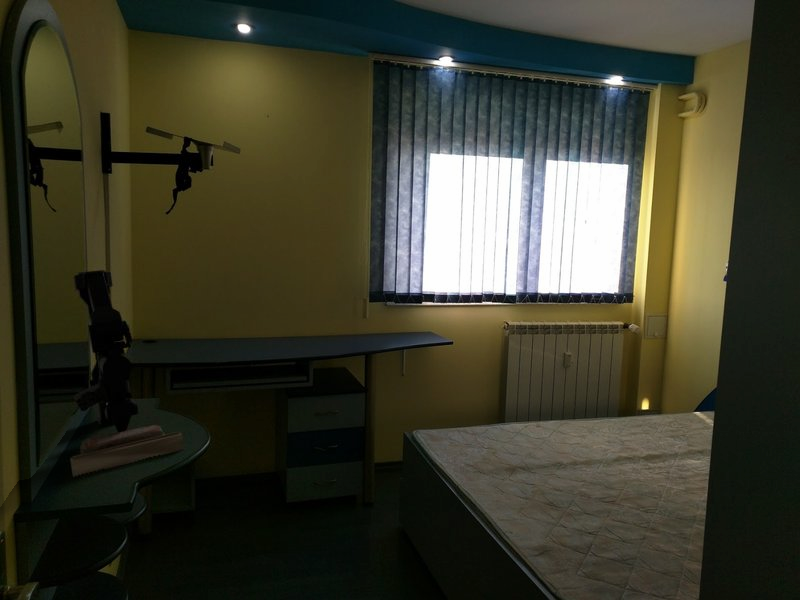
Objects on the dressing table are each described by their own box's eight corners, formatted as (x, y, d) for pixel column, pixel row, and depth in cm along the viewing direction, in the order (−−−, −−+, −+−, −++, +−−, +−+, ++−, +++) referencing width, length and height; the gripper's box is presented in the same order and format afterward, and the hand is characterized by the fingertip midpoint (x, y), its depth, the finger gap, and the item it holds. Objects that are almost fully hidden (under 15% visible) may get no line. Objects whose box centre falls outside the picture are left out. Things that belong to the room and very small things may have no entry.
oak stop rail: (72, 473, 122) (69, 456, 121) (181, 446, 133) (180, 430, 133) (73, 477, 120) (70, 459, 120) (183, 449, 132) (182, 433, 131)
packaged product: (81, 450, 123) (77, 436, 131) (84, 471, 124) (80, 456, 132) (170, 429, 133) (162, 417, 141) (173, 449, 133) (164, 436, 142)
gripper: (70, 370, 137) (79, 433, 140) (76, 388, 122) (86, 459, 124) (122, 361, 143) (130, 422, 146) (134, 377, 128) (142, 445, 130)
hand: (121, 436), depth 136 cm, fingers closed
